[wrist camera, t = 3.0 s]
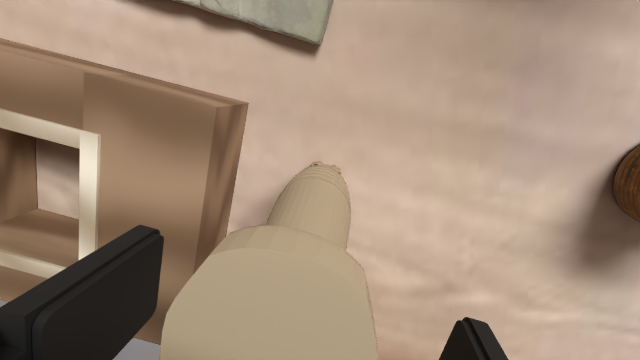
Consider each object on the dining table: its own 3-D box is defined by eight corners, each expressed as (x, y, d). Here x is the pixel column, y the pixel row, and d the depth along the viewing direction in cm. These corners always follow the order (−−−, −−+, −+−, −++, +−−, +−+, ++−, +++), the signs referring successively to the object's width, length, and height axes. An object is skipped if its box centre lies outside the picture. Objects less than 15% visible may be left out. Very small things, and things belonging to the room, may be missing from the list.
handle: (369, 146, 20) (414, 285, 6) (344, 232, 22) (332, 495, 8) (298, 128, 20) (173, 221, 6) (279, 215, 22) (150, 443, 8)
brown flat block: (-68, 20, 21) (-199, -1, 16) (248, 103, 20) (215, 107, 15) (-42, 230, 25) (-137, 264, 20) (214, 301, 25) (180, 353, 20)
